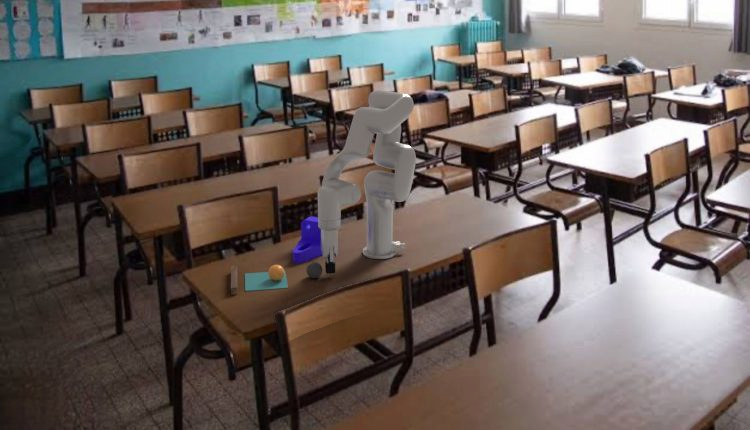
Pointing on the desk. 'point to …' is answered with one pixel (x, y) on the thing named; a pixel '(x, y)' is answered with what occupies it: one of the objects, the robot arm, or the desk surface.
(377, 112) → the robot arm
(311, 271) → the grey ball
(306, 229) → the bracket
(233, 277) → the wooden bar
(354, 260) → the desk surface
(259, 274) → the teal mark
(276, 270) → the orange ball
